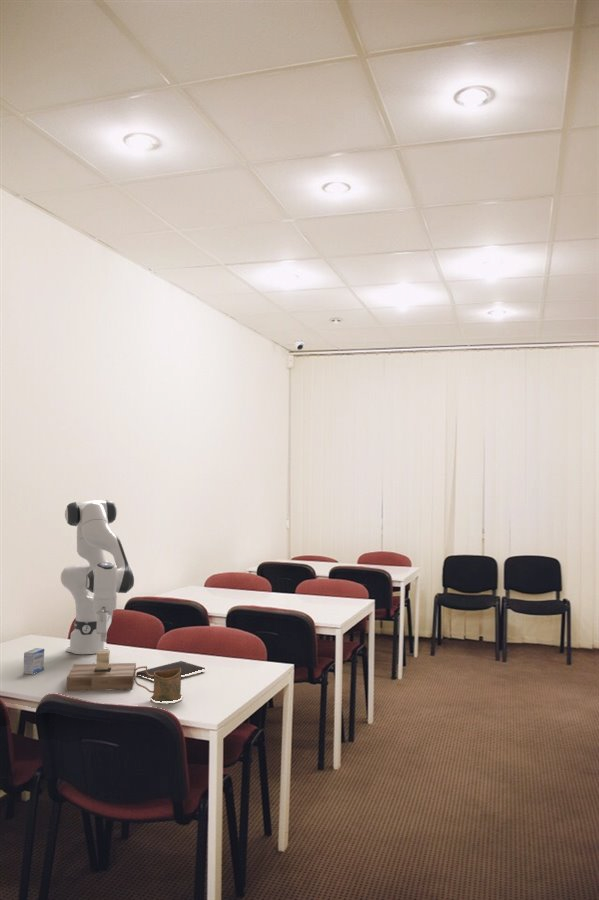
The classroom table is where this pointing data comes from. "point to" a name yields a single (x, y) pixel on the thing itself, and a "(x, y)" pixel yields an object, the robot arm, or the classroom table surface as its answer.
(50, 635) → the classroom table surface
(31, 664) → the medicine box
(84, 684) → the board
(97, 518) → the robot arm
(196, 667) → the hardcover book
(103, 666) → the peg
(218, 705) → the classroom table surface
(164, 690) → the mug
